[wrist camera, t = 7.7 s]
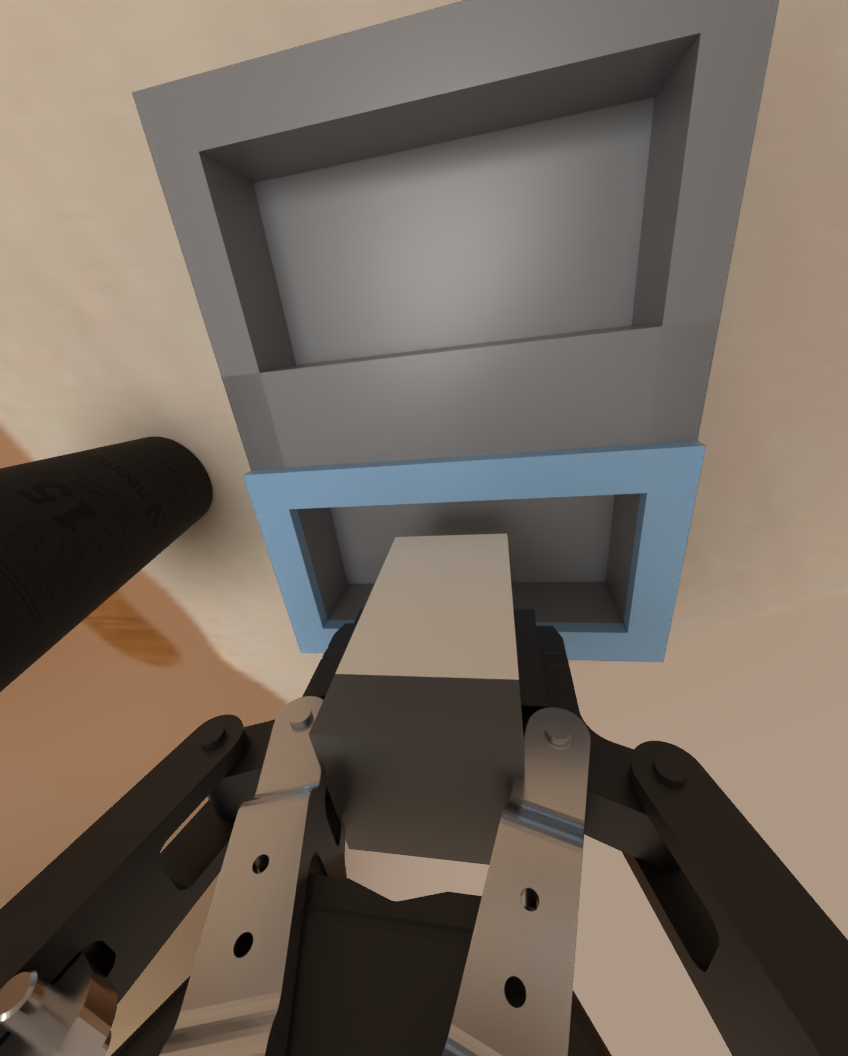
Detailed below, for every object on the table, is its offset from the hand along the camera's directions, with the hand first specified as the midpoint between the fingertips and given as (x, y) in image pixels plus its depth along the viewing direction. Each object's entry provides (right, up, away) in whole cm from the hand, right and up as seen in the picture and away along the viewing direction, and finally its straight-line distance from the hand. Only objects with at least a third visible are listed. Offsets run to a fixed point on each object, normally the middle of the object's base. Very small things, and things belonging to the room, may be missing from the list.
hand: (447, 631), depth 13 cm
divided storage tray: (+1, +9, +5) cm, 10 cm away
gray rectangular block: (0, +1, +2) cm, 3 cm away
